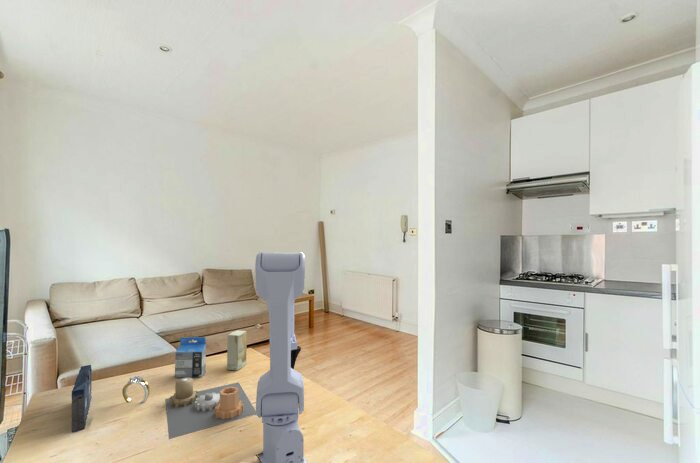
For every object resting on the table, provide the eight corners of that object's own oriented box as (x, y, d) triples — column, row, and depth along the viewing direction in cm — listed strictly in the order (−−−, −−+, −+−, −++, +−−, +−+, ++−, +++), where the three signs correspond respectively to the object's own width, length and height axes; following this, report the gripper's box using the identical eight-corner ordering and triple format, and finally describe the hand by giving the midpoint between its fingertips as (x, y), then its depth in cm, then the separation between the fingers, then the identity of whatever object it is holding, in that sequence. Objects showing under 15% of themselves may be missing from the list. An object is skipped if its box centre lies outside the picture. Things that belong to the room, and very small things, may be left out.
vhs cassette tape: (80, 400, 94) (80, 365, 94) (93, 398, 95) (93, 363, 95) (68, 434, 78) (68, 392, 78) (84, 430, 80) (84, 389, 80)
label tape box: (174, 378, 108) (174, 341, 108) (179, 373, 112) (179, 337, 112) (201, 377, 109) (201, 340, 109) (206, 372, 113) (206, 336, 113)
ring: (119, 408, 90) (120, 378, 90) (129, 402, 93) (129, 373, 93) (142, 410, 89) (143, 380, 89) (151, 403, 92) (151, 375, 92)
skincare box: (237, 371, 114) (238, 335, 114) (226, 370, 115) (226, 335, 115) (247, 363, 120) (247, 330, 120) (236, 362, 121) (236, 329, 121)
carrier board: (257, 418, 85) (257, 391, 85) (169, 444, 74) (169, 413, 74) (238, 386, 103) (238, 363, 103) (165, 403, 92) (165, 378, 92)
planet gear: (246, 414, 84) (246, 392, 85) (217, 422, 81) (217, 400, 81) (239, 402, 90) (239, 382, 90) (212, 409, 87) (213, 388, 87)
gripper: (262, 315, 95) (261, 362, 95) (278, 327, 83) (278, 381, 83) (285, 312, 99) (285, 357, 99) (304, 323, 87) (304, 375, 87)
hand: (283, 368), depth 91 cm, fingers open, 7 cm apart
